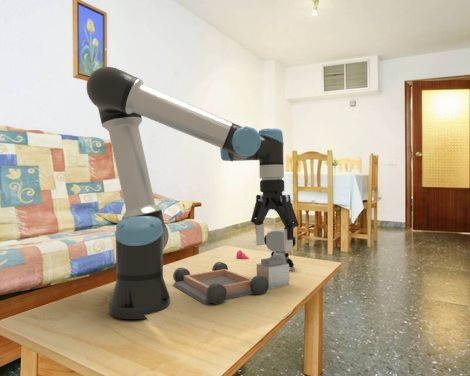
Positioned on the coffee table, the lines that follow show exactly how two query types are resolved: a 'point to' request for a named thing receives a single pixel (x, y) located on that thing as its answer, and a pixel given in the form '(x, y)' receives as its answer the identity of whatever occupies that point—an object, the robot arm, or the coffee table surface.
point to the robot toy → (278, 245)
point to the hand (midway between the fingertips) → (273, 247)
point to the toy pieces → (241, 255)
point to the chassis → (218, 284)
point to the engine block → (274, 272)
